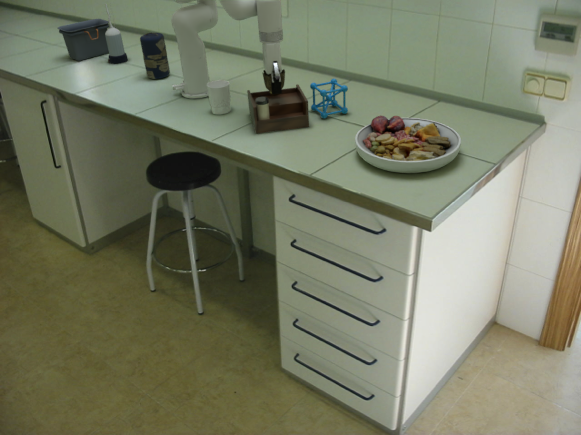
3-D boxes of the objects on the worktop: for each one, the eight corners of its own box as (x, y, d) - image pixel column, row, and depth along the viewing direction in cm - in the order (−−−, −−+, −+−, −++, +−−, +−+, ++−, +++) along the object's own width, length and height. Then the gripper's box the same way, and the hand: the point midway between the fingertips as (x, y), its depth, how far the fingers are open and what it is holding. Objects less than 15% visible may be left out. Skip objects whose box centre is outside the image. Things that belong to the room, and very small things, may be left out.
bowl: (481, 155, 170) (485, 130, 166) (406, 189, 156) (407, 163, 152) (406, 124, 191) (408, 101, 187) (334, 151, 177) (333, 127, 173)
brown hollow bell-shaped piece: (283, 98, 194) (282, 75, 190) (262, 98, 195) (259, 74, 191) (288, 90, 200) (287, 67, 196) (267, 90, 201) (265, 67, 197)
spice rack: (255, 133, 192) (253, 107, 187) (249, 115, 205) (247, 90, 200) (309, 126, 194) (308, 100, 189) (299, 109, 207) (298, 84, 202)
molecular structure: (309, 110, 206) (308, 82, 200) (335, 104, 209) (335, 77, 204) (322, 120, 198) (321, 91, 193) (349, 114, 201) (349, 85, 196)
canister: (159, 81, 240) (151, 36, 230) (142, 78, 244) (133, 34, 235) (175, 74, 247) (168, 30, 237) (158, 71, 251) (150, 28, 241)
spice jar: (258, 123, 191) (256, 102, 187) (256, 118, 195) (254, 97, 191) (271, 121, 192) (269, 100, 188) (269, 116, 195) (267, 96, 191)
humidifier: (106, 61, 267) (93, 4, 254) (122, 57, 272) (110, 0, 258) (114, 65, 262) (102, 6, 248) (131, 60, 266) (119, 2, 253)
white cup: (215, 117, 205) (211, 89, 200) (206, 109, 211) (203, 82, 206) (236, 112, 208) (232, 84, 203) (227, 105, 214) (224, 78, 209)
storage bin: (104, 47, 287) (97, 17, 279) (120, 53, 277) (114, 21, 269) (62, 58, 275) (54, 27, 267) (78, 65, 265) (70, 32, 257)
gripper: (255, 29, 194) (260, 82, 204) (263, 44, 180) (267, 100, 189) (278, 27, 195) (281, 80, 204) (287, 41, 180) (290, 97, 190)
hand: (275, 89), depth 197 cm, fingers closed on brown hollow bell-shaped piece, 7 cm apart
